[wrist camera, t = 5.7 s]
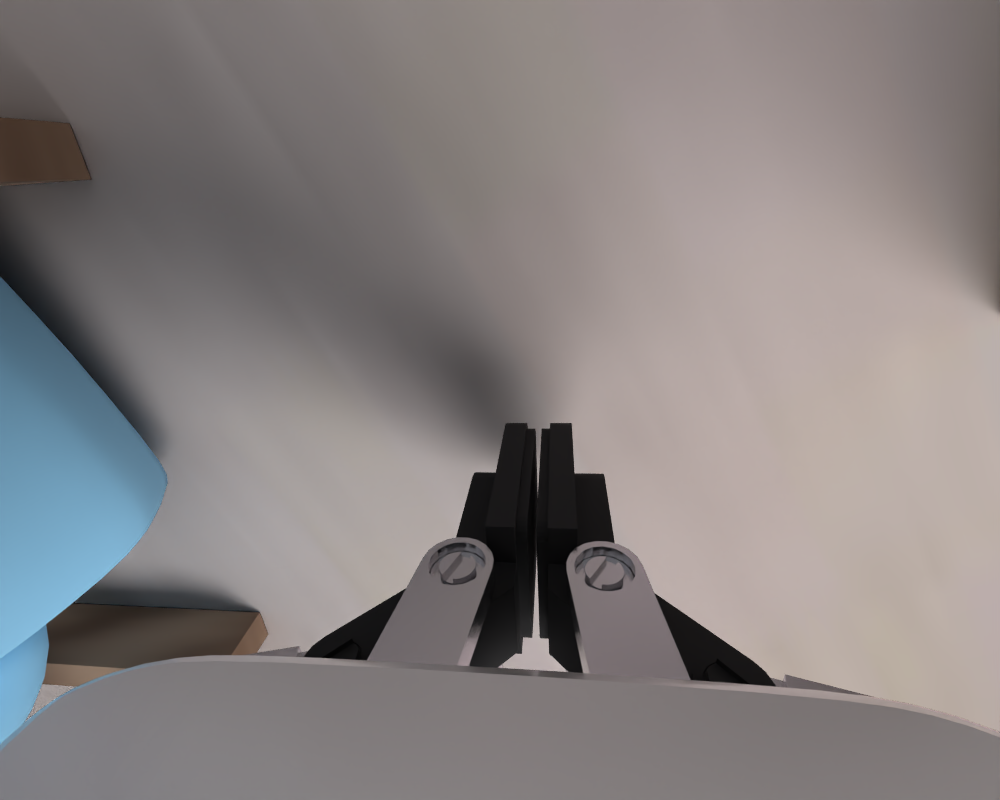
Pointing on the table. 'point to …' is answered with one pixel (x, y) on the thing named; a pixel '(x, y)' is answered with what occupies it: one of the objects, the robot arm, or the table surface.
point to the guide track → (108, 628)
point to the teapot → (57, 495)
